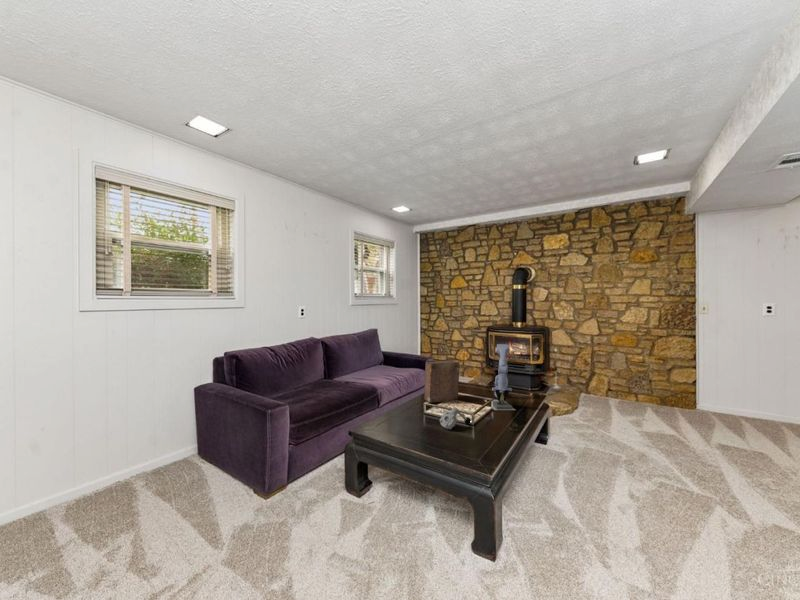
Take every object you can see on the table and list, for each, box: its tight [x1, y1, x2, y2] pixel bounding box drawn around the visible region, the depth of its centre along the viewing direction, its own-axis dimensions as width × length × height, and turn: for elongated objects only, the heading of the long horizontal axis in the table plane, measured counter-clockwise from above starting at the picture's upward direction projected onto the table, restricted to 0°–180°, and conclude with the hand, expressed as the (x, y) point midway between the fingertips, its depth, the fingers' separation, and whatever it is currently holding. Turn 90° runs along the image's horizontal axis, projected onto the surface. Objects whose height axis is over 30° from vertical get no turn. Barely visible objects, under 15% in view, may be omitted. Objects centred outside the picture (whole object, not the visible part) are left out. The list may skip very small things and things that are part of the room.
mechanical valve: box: [439, 406, 472, 430], centre depth 212 cm, size 10×18×15 cm
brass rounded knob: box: [498, 392, 504, 404], centre depth 249 cm, size 4×4×8 cm
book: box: [423, 359, 460, 404], centre depth 261 cm, size 25×9×30 cm, turn 115°
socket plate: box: [483, 399, 516, 411], centre depth 253 cm, size 22×16×3 cm
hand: (501, 400), depth 249 cm, fingers closed on brass rounded knob, 4 cm apart
